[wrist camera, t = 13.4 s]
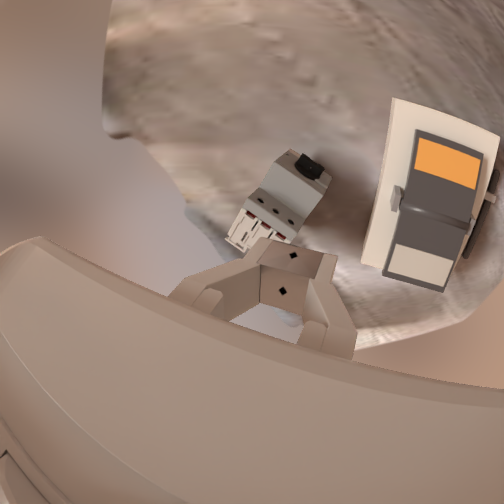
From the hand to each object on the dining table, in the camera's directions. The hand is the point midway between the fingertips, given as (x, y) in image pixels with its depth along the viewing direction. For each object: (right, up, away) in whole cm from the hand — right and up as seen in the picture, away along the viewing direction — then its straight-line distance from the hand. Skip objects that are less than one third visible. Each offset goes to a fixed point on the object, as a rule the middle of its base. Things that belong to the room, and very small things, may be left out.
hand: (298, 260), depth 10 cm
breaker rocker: (+22, +5, +19) cm, 29 cm away
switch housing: (+26, +10, +26) cm, 38 cm away
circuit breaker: (+6, +12, +35) cm, 38 cm away
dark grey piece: (+36, +7, +22) cm, 43 cm away
